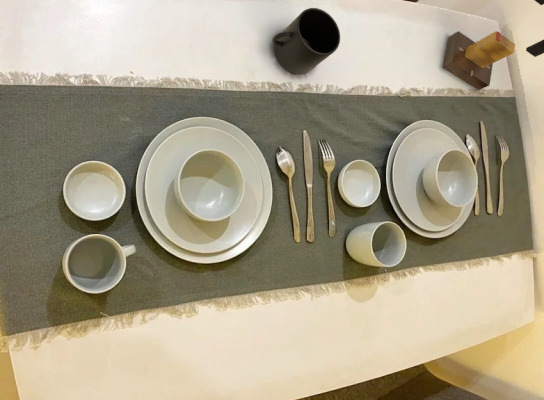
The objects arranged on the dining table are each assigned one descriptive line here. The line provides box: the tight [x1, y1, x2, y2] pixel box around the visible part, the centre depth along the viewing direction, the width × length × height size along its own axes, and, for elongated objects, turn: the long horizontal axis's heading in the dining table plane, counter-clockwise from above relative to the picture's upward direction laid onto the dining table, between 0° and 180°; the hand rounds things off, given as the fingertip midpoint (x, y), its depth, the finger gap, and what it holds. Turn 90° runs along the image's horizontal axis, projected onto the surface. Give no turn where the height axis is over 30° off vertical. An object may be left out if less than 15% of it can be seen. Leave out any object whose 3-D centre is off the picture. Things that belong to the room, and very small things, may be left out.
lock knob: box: [465, 30, 516, 68], centre depth 109 cm, size 6×2×8 cm, turn 70°
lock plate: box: [442, 30, 494, 91], centre depth 114 cm, size 12×10×3 cm
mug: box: [271, 7, 341, 76], centre depth 91 cm, size 9×12×9 cm
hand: (533, 26), depth 99 cm, fingers open, 13 cm apart
